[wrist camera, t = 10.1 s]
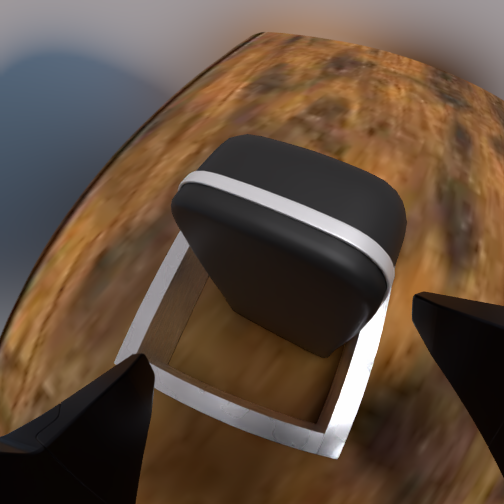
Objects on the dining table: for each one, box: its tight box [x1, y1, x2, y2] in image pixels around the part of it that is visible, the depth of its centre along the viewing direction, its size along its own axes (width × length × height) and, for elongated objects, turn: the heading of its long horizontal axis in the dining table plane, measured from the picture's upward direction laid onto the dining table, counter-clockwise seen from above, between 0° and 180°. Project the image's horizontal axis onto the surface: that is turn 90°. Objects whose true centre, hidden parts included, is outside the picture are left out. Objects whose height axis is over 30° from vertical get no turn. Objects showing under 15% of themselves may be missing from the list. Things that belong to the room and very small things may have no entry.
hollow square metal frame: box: [114, 230, 395, 459], centre depth 15 cm, size 12×13×4 cm
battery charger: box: [171, 134, 407, 358], centre depth 12 cm, size 7×4×11 cm, turn 59°
